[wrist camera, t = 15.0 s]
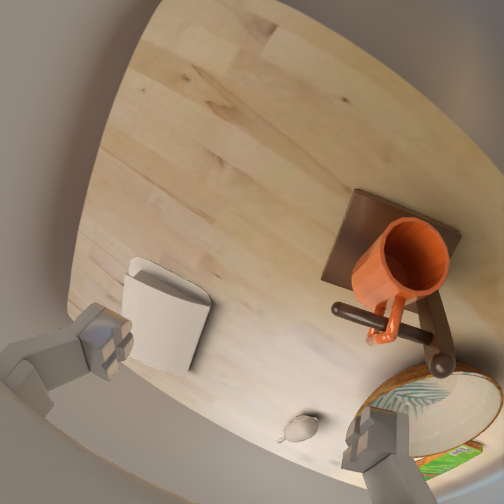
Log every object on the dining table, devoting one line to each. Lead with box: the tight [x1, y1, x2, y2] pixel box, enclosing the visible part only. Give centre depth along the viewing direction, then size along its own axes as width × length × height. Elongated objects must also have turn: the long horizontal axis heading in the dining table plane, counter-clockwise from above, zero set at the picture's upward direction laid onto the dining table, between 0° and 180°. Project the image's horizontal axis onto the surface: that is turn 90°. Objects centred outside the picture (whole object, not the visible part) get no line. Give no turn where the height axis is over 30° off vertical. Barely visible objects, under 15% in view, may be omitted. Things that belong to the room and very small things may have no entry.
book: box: [122, 257, 211, 377], centre depth 52 cm, size 15×23×4 cm, turn 160°
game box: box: [415, 441, 483, 481], centre depth 53 cm, size 3×10×20 cm
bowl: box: [354, 362, 504, 458], centre depth 41 cm, size 25×25×8 cm
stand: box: [321, 189, 462, 379], centre depth 29 cm, size 12×14×18 cm
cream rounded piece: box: [276, 415, 320, 443], centre depth 56 cm, size 6×5×12 cm
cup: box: [351, 217, 450, 346], centre depth 27 cm, size 10×7×8 cm
